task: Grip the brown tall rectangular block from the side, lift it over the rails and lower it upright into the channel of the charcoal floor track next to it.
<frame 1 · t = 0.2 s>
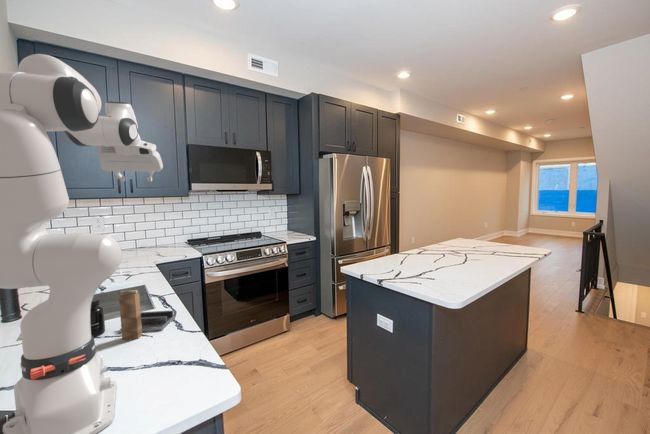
hand: (136, 180, 114), 54 cm above the counter, tool tilted 25°, fingers open, 8 cm apart
floor track: (150, 324, 106), on the counter
brown tall rectangular block: (132, 337, 96), on the counter
supplement bottle: (93, 335, 99), on the counter
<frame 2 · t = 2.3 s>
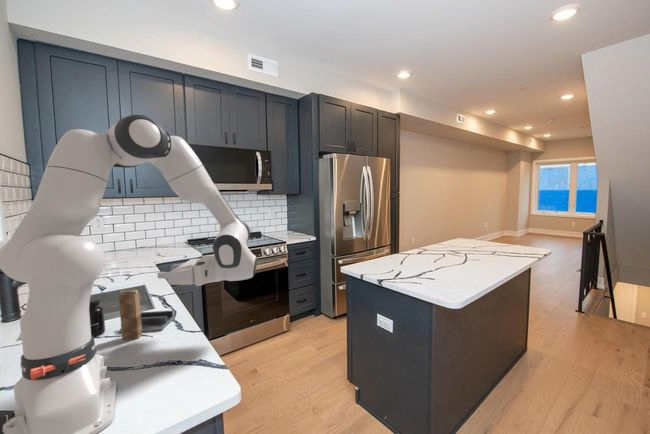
hand: (165, 271, 96), 22 cm above the counter, tool horizontal, fingers open, 8 cm apart
nothing on the counter moved.
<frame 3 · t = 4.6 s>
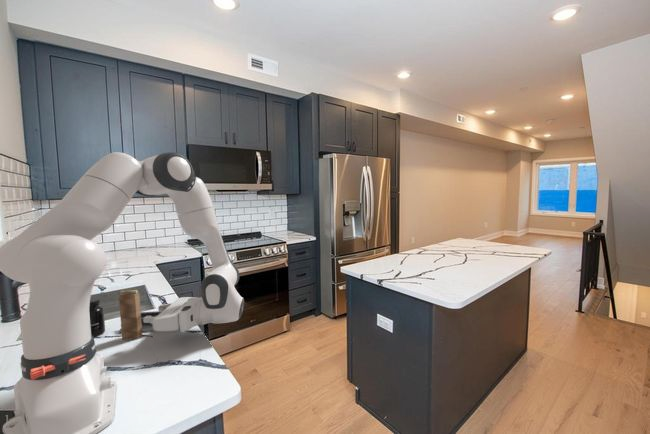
hand: (152, 313, 96), 8 cm above the counter, tool horizontal, fingers open, 8 cm apart
nothing on the counter moved.
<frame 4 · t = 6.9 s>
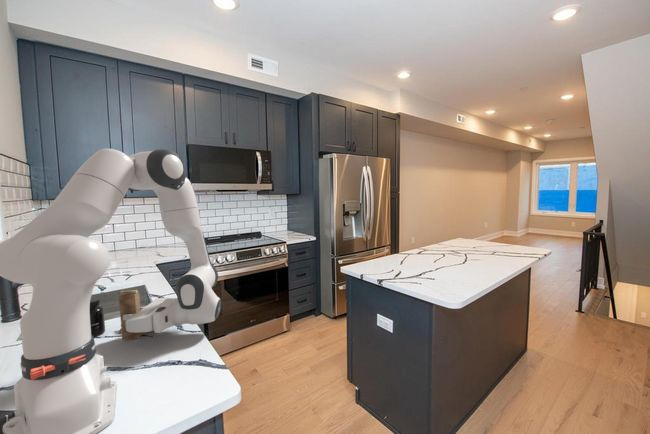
hand: (127, 314, 96), 8 cm above the counter, tool horizontal, fingers closed on brown tall rectangular block, 3 cm apart
brown tall rectangular block: (132, 337, 96), on the counter, touching gripper
everything else where it was.
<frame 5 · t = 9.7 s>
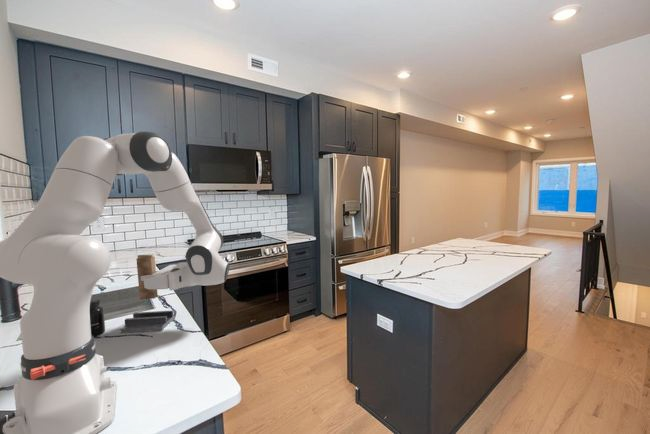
hand: (144, 276, 105), 18 cm above the counter, tool horizontal, fingers closed on brown tall rectangular block, 2 cm apart
brown tall rectangular block: (148, 297, 105), point 10 cm above the counter, touching gripper
everything else where it was.
when the fingers open (11 cm above the counter, at t = 12.0 s): brown tall rectangular block drops 1 cm, resting on floor track.
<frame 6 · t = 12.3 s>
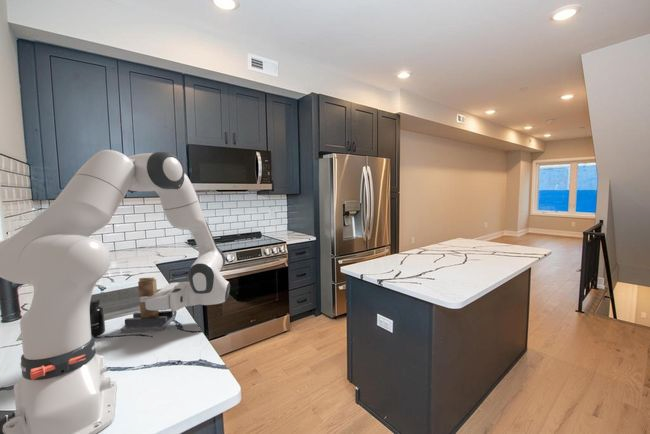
hand: (145, 295, 105), 11 cm above the counter, tool horizontal, fingers open, 5 cm apart
brown tall rectangular block: (150, 320, 106), point 1 cm above the counter, touching floor track
everything else where it was.
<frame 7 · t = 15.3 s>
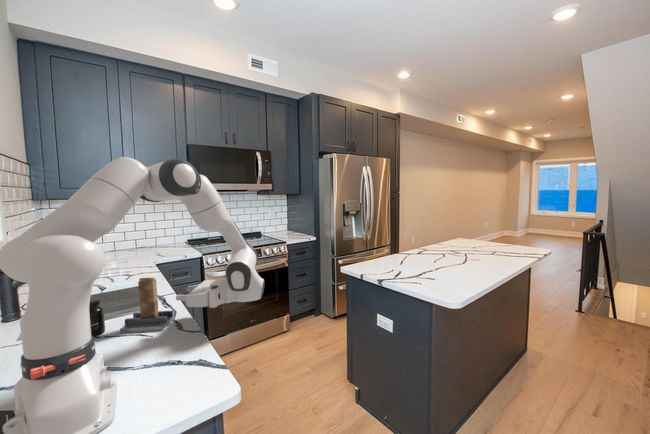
hand: (182, 292, 106), 11 cm above the counter, tool horizontal, fingers open, 8 cm apart
nothing on the counter moved.
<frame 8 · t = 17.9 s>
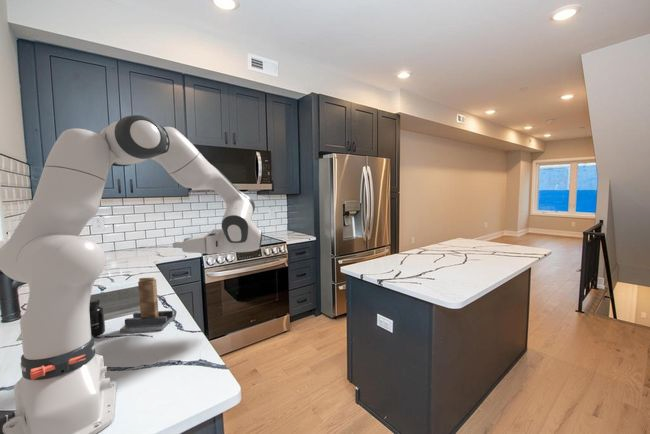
hand: (179, 242, 105), 30 cm above the counter, tool horizontal, fingers open, 8 cm apart
nothing on the counter moved.
at the end: brown tall rectangular block 0.1 cm from the floor track (horizontally); brown tall rectangular block point 1.5 cm above the counter; brown tall rectangular block tilted 0° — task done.
